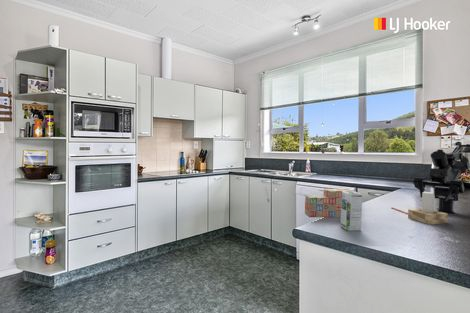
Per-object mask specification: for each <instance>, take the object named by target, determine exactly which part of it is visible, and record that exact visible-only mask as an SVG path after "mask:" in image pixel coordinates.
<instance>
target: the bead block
mask: <svg viewBox="0 0 470 313" xmlns="http://www.w3.org/2000/svg"><path fill="white" fill-rule="evenodd" d="M407 213H408V214H407V219H410V220H413V221H416V222H419V223H424V224H427V225H439V224H448V216H449V214H448V212H441V211H438V210H434V213H425V212H422V208H410V209H409V208H408V211H407Z"/></svg>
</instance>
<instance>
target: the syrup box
mask: <svg viewBox="0 0 470 313" xmlns="http://www.w3.org/2000/svg"><path fill="white" fill-rule="evenodd" d="M362 212H363V193H359V192H357V191H355V192H354V190H352V191H342V204H341V217H340V228H343V229H344V230H346V231H349V232H350V231H351V232H352V231H361V230H362V214H363V213H362Z"/></svg>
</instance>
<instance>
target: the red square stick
mask: <svg viewBox="0 0 470 313" xmlns="http://www.w3.org/2000/svg"><path fill="white" fill-rule="evenodd" d="M391 209H392V210H395V211H398V212H400V213H403V214H405V215H408V212H406V211H403V210H401V209H398V208H395V207H391Z"/></svg>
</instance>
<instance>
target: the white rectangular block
mask: <svg viewBox="0 0 470 313" xmlns="http://www.w3.org/2000/svg"><path fill="white" fill-rule="evenodd" d="M434 208H435V196H434V192H431V191H424V192H422V198H421V209H422V212H425V213H434V211H435V209H434Z"/></svg>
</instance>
